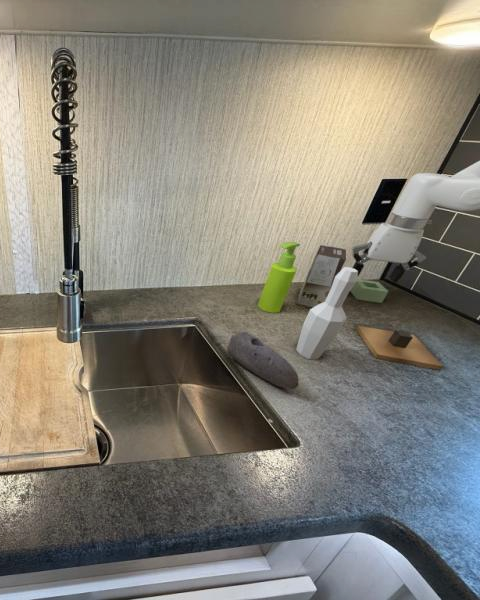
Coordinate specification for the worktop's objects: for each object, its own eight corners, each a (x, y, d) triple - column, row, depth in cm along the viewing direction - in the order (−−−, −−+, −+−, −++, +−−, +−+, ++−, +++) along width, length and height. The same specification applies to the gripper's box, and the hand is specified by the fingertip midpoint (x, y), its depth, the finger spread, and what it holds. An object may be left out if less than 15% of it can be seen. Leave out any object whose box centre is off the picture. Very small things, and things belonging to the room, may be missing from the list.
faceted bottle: (306, 342, 77) (346, 261, 66) (330, 359, 72) (378, 274, 61) (286, 347, 76) (323, 264, 64) (309, 364, 71) (354, 278, 59)
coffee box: (321, 310, 90) (347, 259, 82) (296, 303, 93) (318, 253, 85) (323, 297, 96) (346, 249, 88) (299, 291, 99) (319, 244, 91)
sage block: (372, 293, 99) (378, 282, 97) (381, 303, 94) (388, 291, 92) (348, 289, 101) (354, 278, 99) (356, 299, 96) (362, 288, 93)
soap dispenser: (250, 305, 92) (272, 241, 82) (267, 300, 94) (290, 237, 84) (267, 315, 88) (293, 249, 77) (284, 310, 90) (312, 245, 79)
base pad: (411, 338, 79) (421, 324, 77) (440, 370, 69) (452, 355, 67) (355, 329, 82) (363, 315, 80) (375, 358, 73) (385, 343, 70)
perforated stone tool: (299, 391, 64) (313, 366, 60) (284, 401, 62) (297, 375, 58) (236, 349, 75) (244, 326, 71) (221, 356, 73) (229, 333, 69)
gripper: (437, 221, 86) (401, 276, 95) (362, 214, 90) (335, 267, 99) (454, 230, 80) (415, 288, 89) (373, 222, 84) (344, 277, 93)
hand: (373, 277), depth 94 cm, fingers open, 9 cm apart
